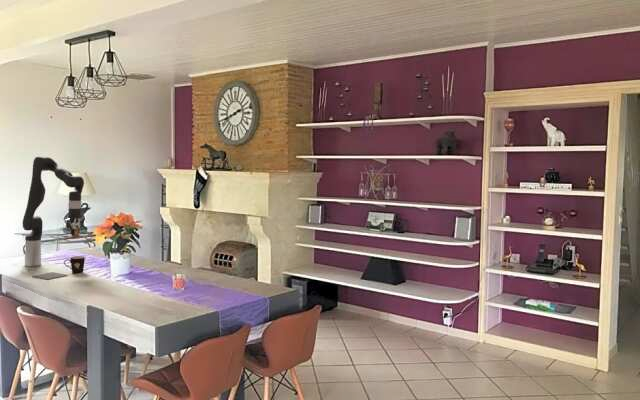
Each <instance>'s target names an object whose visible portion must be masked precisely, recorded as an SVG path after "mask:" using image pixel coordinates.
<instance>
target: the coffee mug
mask: <svg viewBox="0 0 640 400" xmlns="http://www.w3.org/2000/svg"><path fill="white" fill-rule="evenodd" d="M69 258H70V259H69ZM69 258H68V259H65V260H64V261H63V264H64V265H65V266H66V267H67V268H69V269H71V273H72V274H73V275H76V274H82V273H84V267H85V260H86V256H82V255H76V256H75V255H74V256H70V257H69ZM67 261H69V263H70V265H69V266H68V265H67V264H66V262H67Z"/></svg>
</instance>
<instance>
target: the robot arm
mask: <svg viewBox="0 0 640 400" xmlns="http://www.w3.org/2000/svg"><path fill="white" fill-rule="evenodd" d="M32 162H33V163H32V175H31V183H30V188H29V191H28V192H29V193H28V198H27V199H28V200H27V203H26V204H27V205H26V208H25V212H24V215H23V219H22V227H23V230H24V231H31V232H30V233H29V234H27V235H26V236H25V251H24V265H25V266H26V267H37V266H41V265H42V235H43V220H42V217H41V216H39V215H35V213H36V211H37V209H39V207H40V205H41V204H42V203H43V202H44V200H45V196H46V188H45V185H44V183H43V180H42V172H43V171H44V172H45V171H46V172H47V171H50V172H53V173H54V176H55V177H56V178H57V179H58V180H61V181H62V182H63V183H64V184H65V185H66V186H67V187H68V188H73V190H71V191H69V193H68V218H67V219H64V223H65V224H66V228H67V229H70V234H71V235H74V227H79V233H80V230H81V228H82V227H83V225H84V223H85V221H86V218H84V217H82V193H83V189H84V185H85V180H84V178H83V177H82V176H81V175H79V176H78V175H77V176H75V175H74V176H73V174H72V173H71V172H70V171H69V170H67V169H65V168H63V166H60V164H58V163H57V162H56V161H55V160H54V159H53V158H51V157H49V156H35V157H34V160H33V161H32Z"/></svg>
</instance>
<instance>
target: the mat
mask: <svg viewBox="0 0 640 400" xmlns="http://www.w3.org/2000/svg"><path fill="white" fill-rule="evenodd" d="M31 277H32V278H35V279H41V280H46V281H49V280H53V279H58V278H63V277H68V274H66V273H59V272H53V271H51V272H47V273H41V274H37V275H32V276H31Z"/></svg>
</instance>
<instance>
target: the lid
mask: <svg viewBox="0 0 640 400" xmlns="http://www.w3.org/2000/svg"><path fill="white" fill-rule="evenodd" d="M61 237H62V238H68V239H80V238H81V239H82V238H87V237H89V234H84V233H80V232H79V227H76V226H74V235H71V233H70V234H62V235H61Z"/></svg>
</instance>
